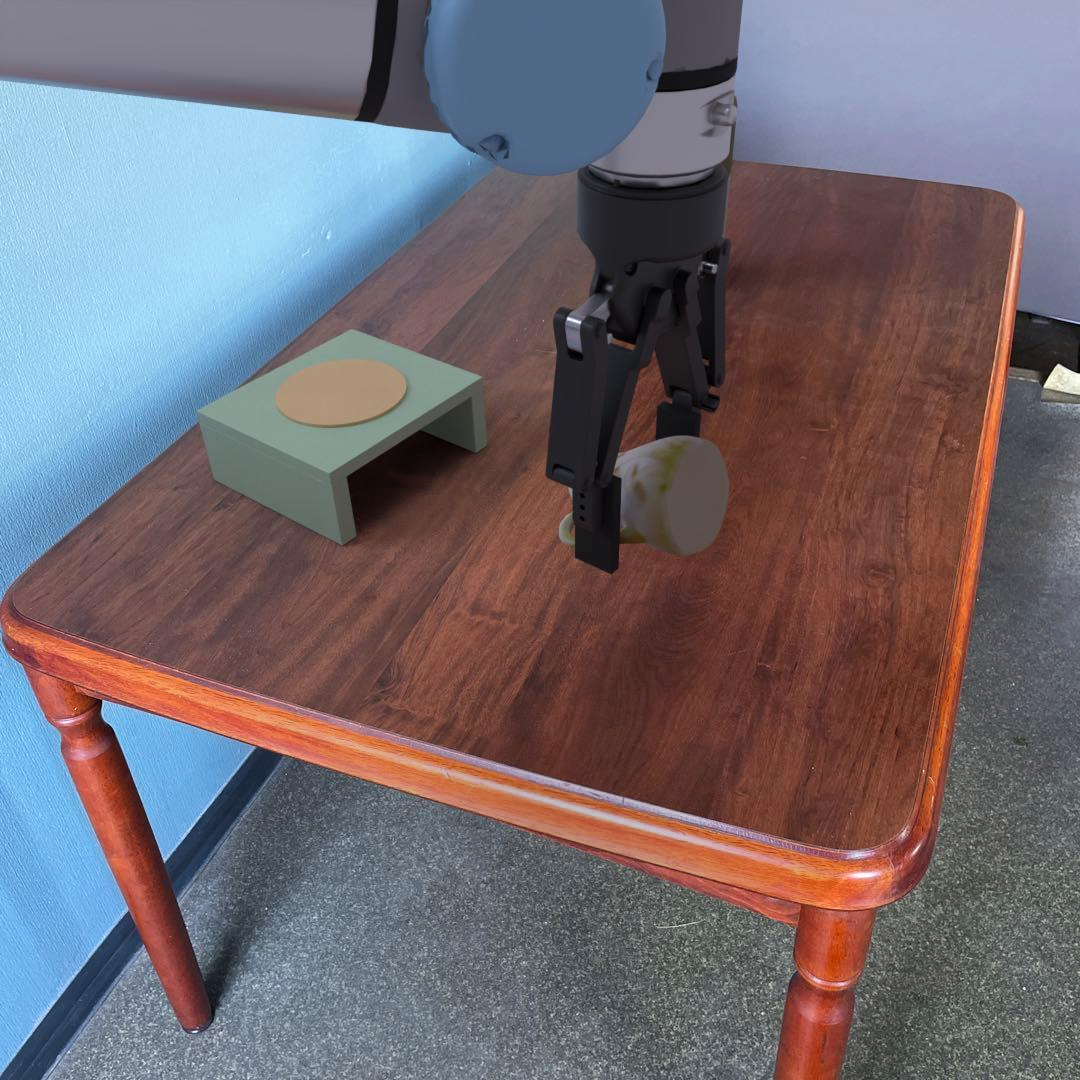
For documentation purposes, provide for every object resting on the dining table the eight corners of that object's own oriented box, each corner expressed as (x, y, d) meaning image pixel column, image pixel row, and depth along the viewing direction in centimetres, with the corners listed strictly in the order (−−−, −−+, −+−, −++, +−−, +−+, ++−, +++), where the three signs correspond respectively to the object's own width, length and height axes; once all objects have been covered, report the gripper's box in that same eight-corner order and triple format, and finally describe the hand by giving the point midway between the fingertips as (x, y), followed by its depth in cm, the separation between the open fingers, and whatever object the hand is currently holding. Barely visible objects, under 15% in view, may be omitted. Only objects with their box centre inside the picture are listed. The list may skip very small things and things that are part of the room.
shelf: (214, 479, 93) (195, 407, 89) (361, 394, 104) (351, 325, 100) (342, 546, 85) (328, 469, 81) (487, 445, 96) (482, 373, 92)
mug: (593, 474, 73) (674, 370, 66) (685, 583, 70) (779, 486, 64) (521, 501, 67) (602, 390, 61) (618, 620, 65) (714, 517, 58)
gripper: (593, 246, 45) (588, 644, 59) (816, 122, 58) (769, 473, 72) (458, 208, 49) (483, 591, 63) (696, 100, 62) (673, 438, 76)
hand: (636, 528), depth 67 cm, fingers closed on mug, 8 cm apart
